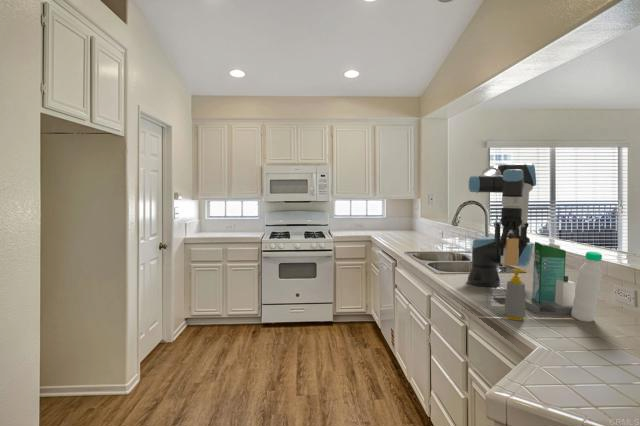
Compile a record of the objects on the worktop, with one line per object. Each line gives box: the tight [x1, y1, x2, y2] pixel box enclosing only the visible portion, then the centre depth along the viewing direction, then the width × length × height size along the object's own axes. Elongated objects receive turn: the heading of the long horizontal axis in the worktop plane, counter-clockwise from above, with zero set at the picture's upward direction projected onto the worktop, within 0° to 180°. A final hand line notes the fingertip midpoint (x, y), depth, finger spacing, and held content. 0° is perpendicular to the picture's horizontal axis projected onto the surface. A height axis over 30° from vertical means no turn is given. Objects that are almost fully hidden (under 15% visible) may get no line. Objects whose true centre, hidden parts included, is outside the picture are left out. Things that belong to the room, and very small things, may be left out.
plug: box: [504, 233, 519, 267], centre depth 160 cm, size 4×4×13 cm
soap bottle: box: [503, 268, 527, 321], centre depth 141 cm, size 7×7×18 cm
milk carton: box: [532, 241, 567, 304], centre depth 162 cm, size 9×9×25 cm
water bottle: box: [570, 251, 604, 323], centre depth 139 cm, size 7×7×25 cm
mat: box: [491, 297, 506, 306], centre depth 161 cm, size 10×10×1 cm
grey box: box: [525, 275, 576, 315], centre depth 149 cm, size 9×21×14 cm, turn 90°
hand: (509, 263), depth 160 cm, fingers closed on plug, 4 cm apart
